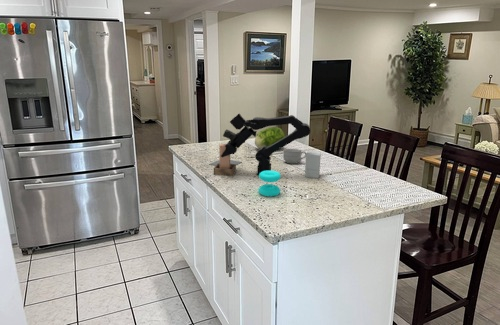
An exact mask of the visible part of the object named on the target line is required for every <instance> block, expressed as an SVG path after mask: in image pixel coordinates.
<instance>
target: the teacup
mask: <svg viewBox="0 0 500 325" xmlns="http://www.w3.org/2000/svg"><path fill="white" fill-rule="evenodd" d="M282 151H283V153H282V154H283V161H284V162H286V163H287V164H292V165H293V164H298V163H299V162H301V161H302V160H304V159H306V153H307V152H306V151H305V150H303V151H302V149H298V148H285V149H284V148H283V150H282ZM303 154H305V155H304V156H302V155H303Z"/></svg>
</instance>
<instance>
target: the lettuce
mask: <svg viewBox="0 0 500 325" xmlns="http://www.w3.org/2000/svg"><path fill="white" fill-rule="evenodd" d="M284 137H286V134H285V132H284V131H283V130H282V128H280V127H278V126H270V127H266V128H265V129H262V130H260V131H259V132H258V133H256V137H254V145H255V147H256V148H258V149H259V148H261V147H263V146H264V145H266V147H267V146H270V145H272V144H274V143H275V142H277V141H279V140H281V139H282V138H284Z"/></svg>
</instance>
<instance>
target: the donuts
mask: <svg viewBox="0 0 500 325" xmlns="http://www.w3.org/2000/svg"><path fill="white" fill-rule="evenodd" d="M281 175H282V174H281V173H280V172H278V171H276V170H272V169H271V170H268V171H262V172H261V173H260V174H259V175H258V179H260V181H262V182H265V183H268V184H262V185H261V186H259V188H258V193H259V194H260V195H262V196H265V197H276V196H278V195H279V194H280V193H281V188H280V186H277V185H276V184H269V183H275V182H278V181H279V180H281V177H282V176H281Z"/></svg>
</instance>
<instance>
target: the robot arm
mask: <svg viewBox="0 0 500 325" xmlns="http://www.w3.org/2000/svg"><path fill="white" fill-rule="evenodd" d="M229 123H230V124H231V126H233V127H234V128H235V129H236V130H237V131H238V130H240V131H238V132H236V133H235V132H233V131H232V130H229V129H225V130H224V132H223V135H222V136H223V137H224V138H227V139H229V141H228V142H227V143H225V144H226V145H225V147H226V149H225V151H224V152H223V154H222V155H221V157H225V156H227V155H230V156H231V155H235V153H237V151H238V149H239V148H240V147H241V146H242V145H243V144H244V143H245V142H246V141H248V139H249V138H251V136H253V137H254V138H256V136H257V130H261V129H262V130H263V129H264V128H268V127H275V126H282V125H291V126H292V127H294V128H295V129H294V130H293V131H292V132H291V133H289V134H287V135H285V137H284V138H282V139H281V140H279V141H277V142H275V143H274V144H272V145H270V146H267V147H266V145H264V146H263V147H261V148H258V150H257V151H256V153H255V159H256V161H257V162H258V164H257V166H256V168H257V171H256V175H257V176H259V174H260V173H261V172H262V171H268V170H271V171H272V163H271V159H272V158H271V155H272V154H273V153H275V152H277V151H279V150H281V149H282V148H284V147H285V146H287V145H289V144H290V143H292V142H294V141H296V140H300V139H303V138H305V137H307V136H309V135H310V134H311V126H310V125H309V124H308V123H304V122H303V121H301V120H299V119H298V118H297V117H296V115H293V114H291V115H286V116H277V117H270V118H269V117H268V118H266V117H261V116H260V117H257V116H256V117H253V118H252V119H247V120H246V119H245V118H244V117H243V116H242V115H241V113H238V114H237V115H236V116H234V117H233V118H232V119H231V120H230V121H229Z"/></svg>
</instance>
